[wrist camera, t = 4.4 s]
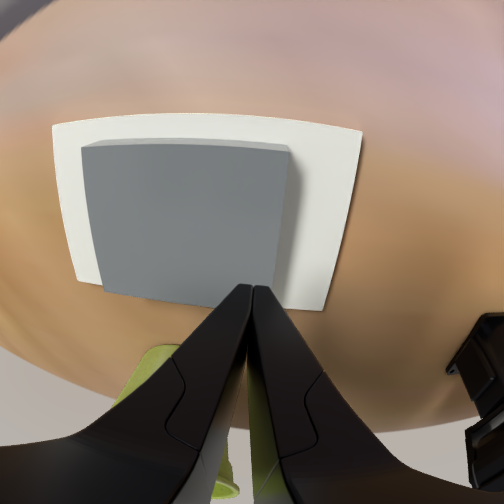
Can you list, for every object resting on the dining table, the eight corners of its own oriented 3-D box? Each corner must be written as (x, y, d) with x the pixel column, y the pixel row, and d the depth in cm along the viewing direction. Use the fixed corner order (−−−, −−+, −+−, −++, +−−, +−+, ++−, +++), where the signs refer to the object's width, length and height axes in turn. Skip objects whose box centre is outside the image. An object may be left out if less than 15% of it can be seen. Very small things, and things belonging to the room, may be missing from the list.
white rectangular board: (358, 130, 10) (362, 132, 10) (320, 303, 15) (322, 311, 14) (59, 123, 11) (52, 125, 10) (82, 275, 15) (77, 280, 15)
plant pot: (167, 405, 22) (146, 490, 14) (99, 335, 18) (49, 434, 10) (267, 395, 20) (263, 500, 12) (211, 310, 16) (176, 458, 8)
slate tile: (289, 151, 9) (80, 147, 9) (268, 313, 13) (104, 291, 13) (287, 144, 10) (101, 139, 11) (268, 291, 14) (117, 273, 14)
